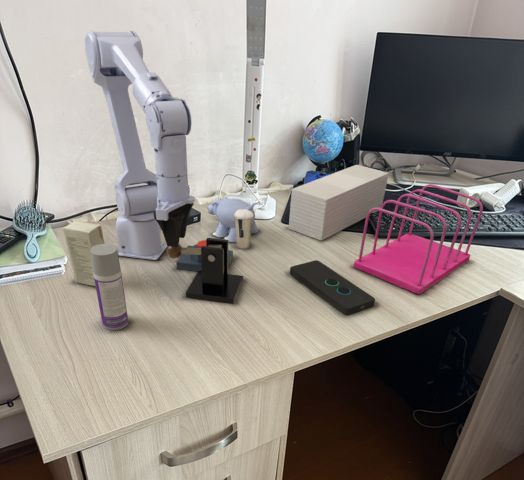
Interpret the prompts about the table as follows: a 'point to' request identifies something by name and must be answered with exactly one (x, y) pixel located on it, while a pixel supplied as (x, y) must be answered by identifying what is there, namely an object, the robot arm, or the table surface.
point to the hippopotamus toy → (229, 216)
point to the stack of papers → (336, 201)
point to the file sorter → (416, 247)
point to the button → (201, 243)
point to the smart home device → (332, 287)
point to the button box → (195, 261)
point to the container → (109, 286)
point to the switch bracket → (215, 275)
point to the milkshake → (243, 227)
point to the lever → (187, 250)
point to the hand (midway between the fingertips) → (176, 241)
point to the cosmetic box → (82, 248)
